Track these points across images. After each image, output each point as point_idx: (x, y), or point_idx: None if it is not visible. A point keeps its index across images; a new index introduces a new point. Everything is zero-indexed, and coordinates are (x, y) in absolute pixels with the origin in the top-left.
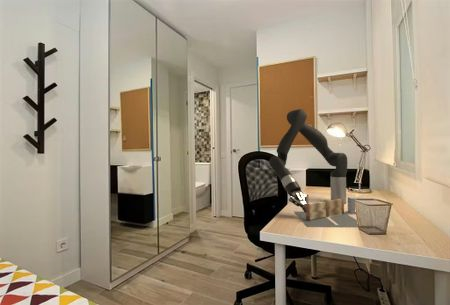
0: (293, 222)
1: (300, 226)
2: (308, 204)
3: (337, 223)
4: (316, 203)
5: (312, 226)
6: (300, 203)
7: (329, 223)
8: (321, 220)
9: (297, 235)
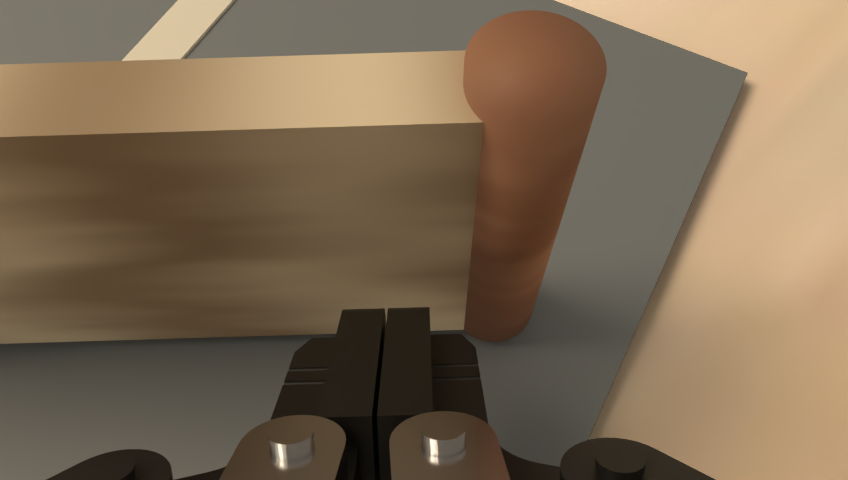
0: (830, 402)
1: (813, 171)
2: (553, 21)
3: (166, 2)
4: (129, 62)
5: (647, 55)
6: (590, 449)
7: (275, 45)
8: None
9: None
